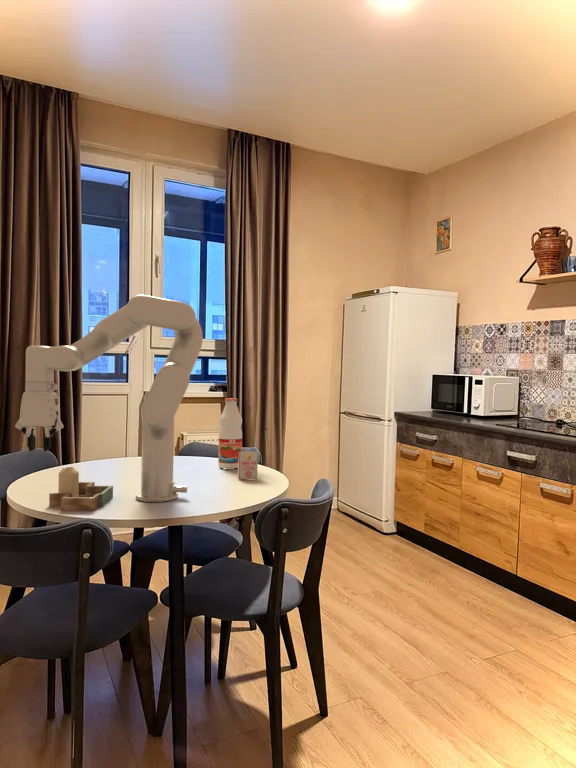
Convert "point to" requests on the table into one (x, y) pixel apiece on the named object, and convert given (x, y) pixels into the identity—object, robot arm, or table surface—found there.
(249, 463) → the white red box
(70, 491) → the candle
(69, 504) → the wooden tray
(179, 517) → the table surface
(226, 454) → the fruit juice
